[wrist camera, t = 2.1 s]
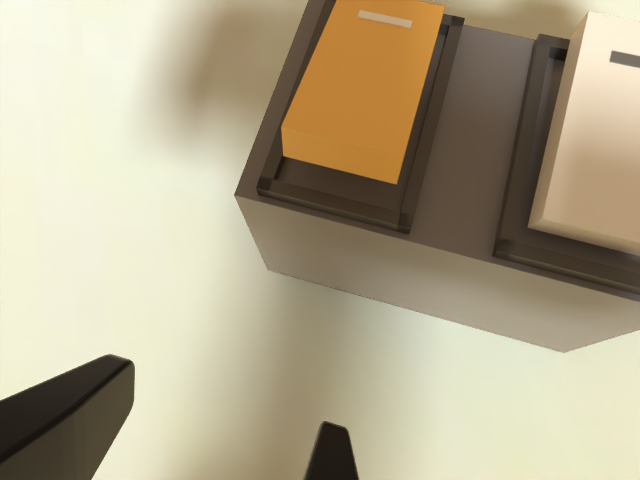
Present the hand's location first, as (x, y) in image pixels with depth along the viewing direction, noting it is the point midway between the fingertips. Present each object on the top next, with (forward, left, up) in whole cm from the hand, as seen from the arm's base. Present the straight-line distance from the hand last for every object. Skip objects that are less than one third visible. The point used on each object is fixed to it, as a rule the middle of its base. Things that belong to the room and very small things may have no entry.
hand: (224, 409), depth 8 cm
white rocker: (+11, +4, -4) cm, 13 cm away
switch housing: (+8, +6, -14) cm, 17 cm away
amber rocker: (+5, +8, -4) cm, 10 cm away
